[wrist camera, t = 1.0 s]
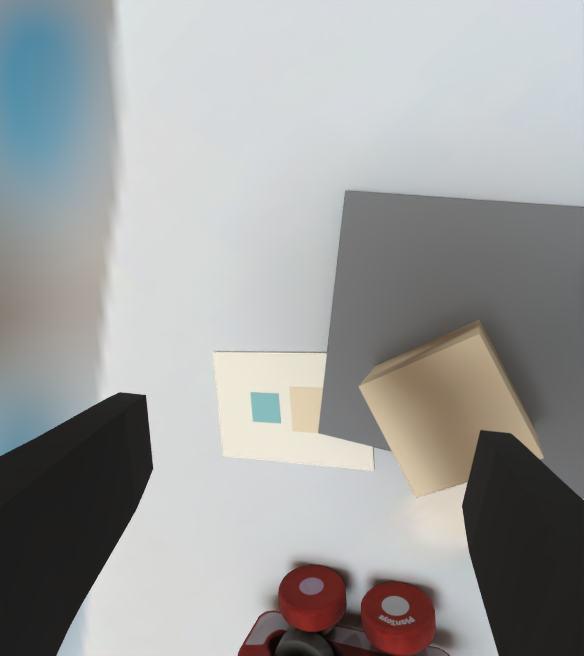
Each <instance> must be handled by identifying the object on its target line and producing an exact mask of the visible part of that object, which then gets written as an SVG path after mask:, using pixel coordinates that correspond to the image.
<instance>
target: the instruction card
mask: <svg viewBox="0 0 584 656" xmlns="http://www.w3.org/2000/svg"><path fill="white" fill-rule="evenodd" d="M326 357H327V353H309V352H213V360H214V370H215V381H216V391H217V401H218V411H219V422H220V432H221V442H222V452H223V456H227V457H237V458H247V459H258V460H268V461H278V462H288V463H299V464H309V465H319V466H329V467H339V468H350V469H360V470H370V471H374V453H373V447H372V446H368V445H364V444H360V443H356V442H352V441H347V440H343V439H339V438H335V437H331V436H327V435H323V434H319V433H318V428H319V419H320V410H321V402H322V393H323V384H324V375H325V366H326Z"/></svg>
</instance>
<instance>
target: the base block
mask: <svg viewBox="0 0 584 656" xmlns="http://www.w3.org/2000/svg"><path fill="white" fill-rule="evenodd" d="M359 388H360V390H361V392H362V394H363V396H364V398H365V400H366V402H367V404H368V406H369V408H370V410H371V412H372V414H373V416H374V418H375V419H376V421H377V423H378V425H379V427H380V429H381V431H382V433H383V435H384V437H385V439H386V441H387V443H388V445H389V447H390V449H391V450H392V452H393V454H394V456H395V458H396V460H397V462H398V464H399V466H400V468H401V470H402V472H403V474H404V476H405V478H406V480H407V481H408V483H409V485H410V487H411V489H412V491H413V493H414V495H415V497H416V498H418V497H421V496H424V495H428V494H431V493H434V492H437V491H440V490H444V489H447V488H450V487H453V486H456V485H460V484H463V483H466V482H468V479H469V475H470V471H471V467H472V462H473V458H474V454H475V450H476V446H477V442H478V437H479V433H480V430H486V431H495V432H505V433H511V434H513V435H514V436H515V437H516V438H517V439H518V440H519V441H521V442H522V443H523V444H524V445H525V446H526V447H527V448H528V449H529V450H530V451H531V452H532V453H533V454H535V455H536V456H537V457H538V458H539V459H542V458H544V456H543V453H542V450H541V446H540V443H539V440H538V436H537V433H536V429H535V426H534V424H533V422H532V420H531V418H530V416H529V414H528V412H527V410H526V408H525V406H524V404H523V403H522V401H521V399H520V397H519V395H518V393H517V391H516V389H515V387H514V385H513V383H512V381H511V380H510V378H509V376H508V374H507V372H506V370H505V368H504V366H503V364H502V362H501V360H500V358H499V356H498V355H497V353H496V351H495V349H494V347H493V345H492V343H491V341H490V339H489V337H488V335H487V333H486V331H485V330H484V328H483V326H482V324H481V322H480V320H477V321H475V322H473V323H471V324H468V325H466V326H464V327H462V328H459V329H457V330H455V331H453V332H450V333H448V334H446V335H444V336H442V337H439V338H437V339H435V340H433V341H430V342H428V343H426V344H424V345H421V346H419V347H417V348H415V349H412V350H410V351H408V352H406V353H403V354H401V355H399V356H397V357H394V358H392V359H390V360H388V361H386V362H383V363H381V364H379V365H377V366H375V367H374V368H373V369H372V370H371V372H370V373H369V374H368V375H367V377H366V378H365V379H364V380H363V381H362V383H361V384H360V385H359Z"/></svg>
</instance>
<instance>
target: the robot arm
mask: <svg viewBox="0 0 584 656" xmlns="http://www.w3.org/2000/svg"><path fill="white" fill-rule="evenodd" d="M152 470H153V463H152V452H151V442H150V432H149V422H148V411H147V401H146V395H140V394H130V393H121V392H120V393H117V394H115V395H113V396H111V397H109V398H107V399H105V400H103V401H101V402H100V403H98V404H96V405H94V406H92V407H90V408H89V409H87V410H85V411H83V412H82V413H80V414H78V415H76V416H74V417H73V418H71V419H69V420H68V421H66V422H64V423H62V424H60V425H58V426H57V427H55V428H53V429H51V430H49V431H48V432H46V433H44V434H43V435H40V436H39V437H37V438H35V439H33V440H31V441H29V442H27V443H26V444H23V445H22V446H19V447H17V448H15V449H13V450H12V451H10V452H8V453H6V454H4V455H2V456H0V656H56V655H57V653H58V650H59V648H60V646H61V644H62V642H63V640H64V637H65V635H66V633H67V631H68V629H69V627H70V625H71V623H72V621H73V619H74V618H75V616H76V614H77V612H78V610H79V608H80V606H81V604H82V603H83V601H84V599H85V598H86V596H87V594H88V592H89V591H90V589H91V587H92V586H93V584H94V582H95V580H96V579H97V577H98V575H99V574H100V572H101V570H102V568H103V567H104V565H105V563H106V562H107V560H108V558H109V556H110V555H111V553H112V551H113V550H114V548H115V546H116V544H117V543H118V541H119V539H120V537H121V536H122V534H123V532H124V530H125V529H126V527H127V525H128V523H129V522H130V520H131V518H132V516H133V514H134V513H135V511H136V509H137V507H138V504H139V502H140V500H141V497H142V495H143V493H144V490H145V488H146V485H147V483H148V480H149V478H150V475H151V473H152ZM462 508H463V515H464V522H465V529H466V535H467V541H468V547H469V553H470V557H471V560H472V564H473V568H474V571H475V575H476V578H477V582H478V585H479V589H480V592H481V596H482V599H483V603H484V606H485V610H486V613H487V617H488V620H489V623H490V627H491V630H492V634H493V637H494V641H495V644H496V648H497V651H498V654H499V656H584V500H583V499H582V498H581V497H580V496H578V495H577V494H576V493H575V492H574V491H573V490H572V489H571V488H570V487H569V486H568V485H566V484H565V483H564V482H563V481H562V480H561V479H560V478H559V477H558V476H557V475H556V474H555V473H554V472H553V471H551V470H550V469H549V468H548V467H547V466H546V465H545V464H544V463H543V462H542V461H541V460H540V459H539V458H538V457H537V456H536V455H535V454H533V453H532V452H531V451H530V450H529V449H528V448H527V447H526V446H525V445H524V444H523V443H522V442H521V441H519V440H518V439H517V438H516V437H515V436H514V435H513V434H511V433H505V432H495V431H486V430H480V433H479V437H478V442H477V446H476V450H475V454H474V458H473V462H472V467H471V471H470V475H469V479H468V483H467V487H466V492H465V496H464V500H463V504H462Z"/></svg>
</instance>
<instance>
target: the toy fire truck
mask: <svg viewBox="0 0 584 656" xmlns="http://www.w3.org/2000/svg"><path fill="white" fill-rule="evenodd" d="M278 597H279V607H280V612H278V611H267V612H264V613H263V614H261V615H260V616H259V617H258V619H257V621H256V623H255V624H254V626H253V628H252V629H251V631H250V633H249V634H248V636H247V638H246V639H245V641H244V643H243V645H242V646H241V648H240V650H239V652H238V656H450V655H449V654H448V653H447V652H445V651H444V650H442V649H440V648H437V647H431V646H428V645H429V644H430V643H431V642H432V640H433V638H434V636H435V629H436V625H435V610H434V606H433V604H432V602H431V600H430V599H429V597H428V596H427V595H426V594H425V593H424V592H422V591H421V590H419V589H418V588H416V587H413V586H411V585H408V584H405V583H396V582H390V583H383V584H380V585H377V586H375V587H373V588H372V589H371V590H370V591H368V592H367V593H366V595H365V596H364V598H363V599H362V602H361V620H362V628H363V631H362V630H357V629H353V628H349V627H344V626H339V625H335V624H336V623H338V622H339V621H340V619H341V618H342V616H343V615H344V613H345V611H346V591H345V585H344V582H343V580H342V578H341V577H340V576H339V575H338V574H337V573H336V572H334V571H332V570H331V569H329V568H326V567H323V566H303V567H299V568H296V569H295V570H292V571H291V572H289V573H288V574H287V575H286V576H285V577H284V578H283V580H282V582H281V584H280V586H279V592H278Z"/></svg>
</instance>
